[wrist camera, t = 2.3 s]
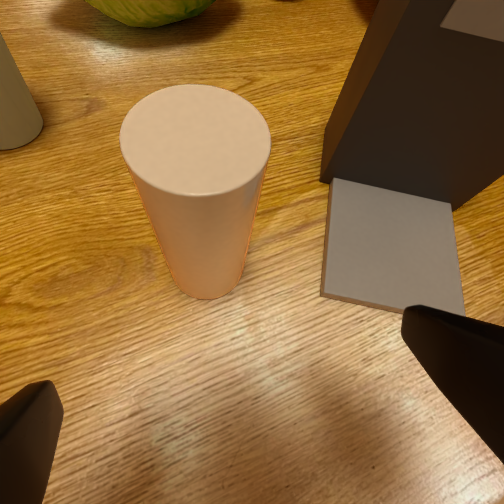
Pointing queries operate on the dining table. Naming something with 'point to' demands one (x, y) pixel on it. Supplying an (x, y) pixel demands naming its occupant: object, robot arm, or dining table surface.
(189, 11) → the lettuce
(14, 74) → the cup
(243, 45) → the dining table surface
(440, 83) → the coffee maker
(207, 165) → the beige cylinder
